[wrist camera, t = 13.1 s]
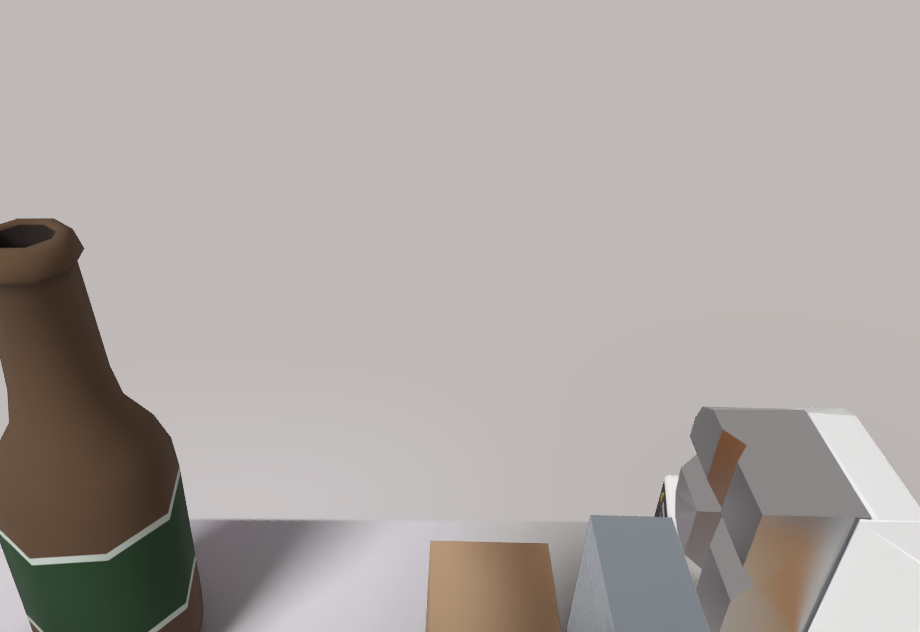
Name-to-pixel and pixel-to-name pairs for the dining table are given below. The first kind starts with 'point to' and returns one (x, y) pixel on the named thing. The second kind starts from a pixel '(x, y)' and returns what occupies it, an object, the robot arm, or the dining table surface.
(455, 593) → the carriage
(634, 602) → the rail and cabinet
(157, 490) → the beer bottle
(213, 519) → the dining table surface
